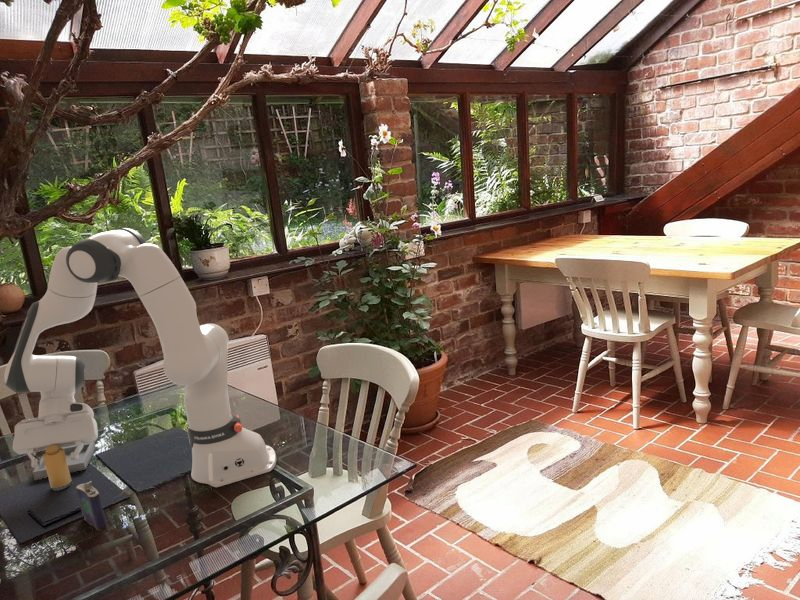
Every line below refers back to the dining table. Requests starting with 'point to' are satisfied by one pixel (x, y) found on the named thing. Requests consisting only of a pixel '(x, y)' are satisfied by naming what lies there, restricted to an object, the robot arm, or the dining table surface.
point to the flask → (91, 506)
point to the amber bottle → (56, 466)
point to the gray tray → (69, 460)
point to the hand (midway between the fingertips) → (55, 463)
